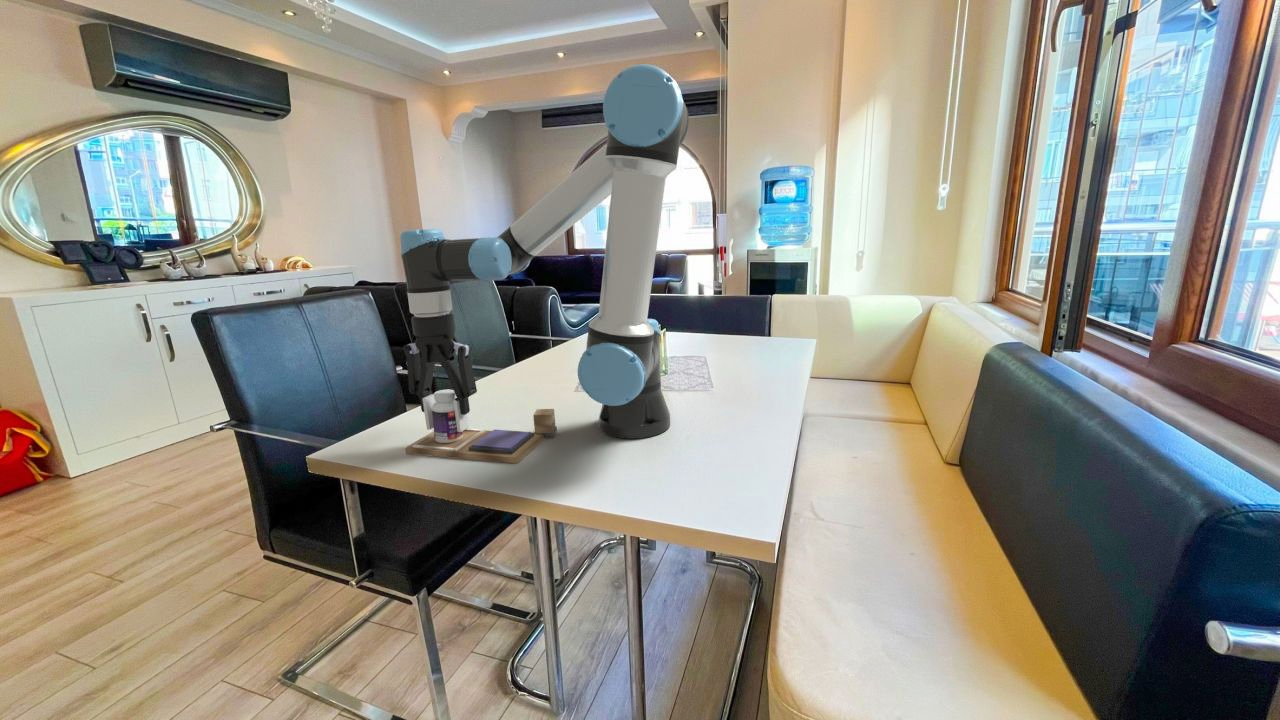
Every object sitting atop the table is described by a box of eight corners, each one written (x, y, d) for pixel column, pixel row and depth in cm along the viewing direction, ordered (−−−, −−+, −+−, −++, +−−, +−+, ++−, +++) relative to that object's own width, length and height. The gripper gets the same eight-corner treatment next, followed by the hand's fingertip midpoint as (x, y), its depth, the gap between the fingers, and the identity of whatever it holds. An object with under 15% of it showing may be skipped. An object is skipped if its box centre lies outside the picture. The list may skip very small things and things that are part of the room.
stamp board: (543, 440, 104) (542, 429, 104) (517, 463, 94) (515, 452, 93) (441, 432, 111) (440, 422, 110) (406, 453, 100) (404, 442, 100)
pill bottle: (454, 445, 100) (449, 397, 98) (429, 442, 101) (424, 395, 99) (468, 434, 105) (464, 389, 103) (444, 432, 106) (440, 387, 104)
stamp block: (556, 430, 109) (555, 408, 108) (553, 438, 105) (551, 414, 104) (538, 431, 109) (536, 408, 108) (534, 438, 105) (532, 415, 104)
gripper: (488, 310, 98) (500, 424, 104) (403, 310, 103) (419, 418, 109) (465, 317, 91) (479, 438, 97) (375, 316, 96) (394, 432, 102)
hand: (447, 428), depth 103 cm, fingers open, 6 cm apart
